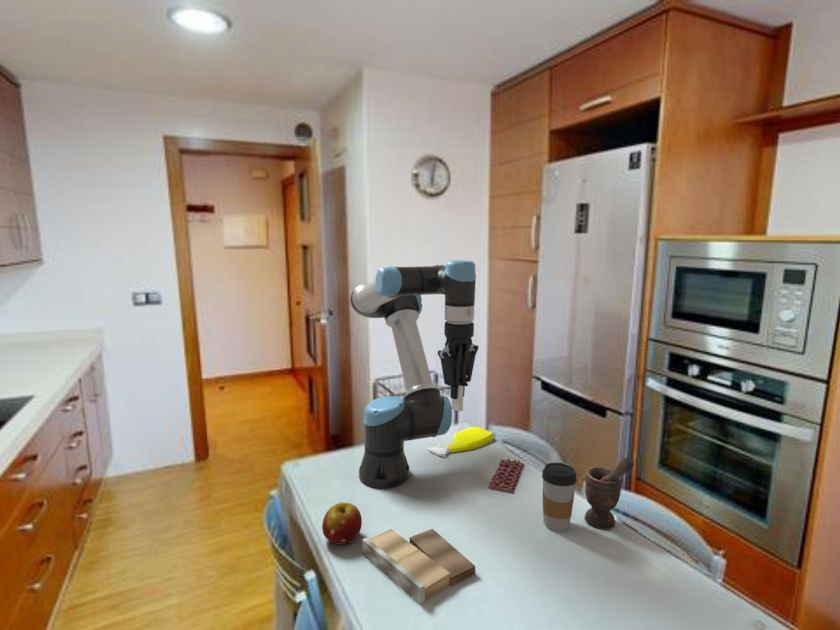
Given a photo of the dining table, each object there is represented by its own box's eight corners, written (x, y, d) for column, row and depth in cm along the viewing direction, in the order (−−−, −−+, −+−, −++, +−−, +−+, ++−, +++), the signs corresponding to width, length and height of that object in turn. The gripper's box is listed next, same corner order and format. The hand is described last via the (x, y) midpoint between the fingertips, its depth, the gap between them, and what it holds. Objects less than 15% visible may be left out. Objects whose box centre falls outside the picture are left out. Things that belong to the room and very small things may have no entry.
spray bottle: (496, 441, 173) (446, 463, 157) (473, 432, 181) (424, 451, 165) (496, 433, 173) (447, 454, 157) (473, 424, 181) (424, 443, 165)
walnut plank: (409, 547, 115) (409, 537, 114) (432, 537, 118) (432, 528, 118) (450, 588, 101) (451, 577, 101) (475, 576, 105) (475, 566, 105)
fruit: (343, 555, 111) (343, 523, 109) (314, 542, 115) (313, 511, 114) (369, 534, 119) (369, 503, 117) (341, 522, 123) (340, 492, 122)
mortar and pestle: (635, 525, 123) (641, 450, 120) (625, 541, 117) (631, 463, 114) (589, 508, 131) (594, 438, 127) (577, 523, 124) (582, 449, 121)
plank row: (362, 553, 111) (362, 539, 111) (391, 539, 117) (391, 525, 116) (420, 604, 96) (420, 587, 96) (449, 585, 102) (450, 569, 101)
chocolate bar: (524, 466, 155) (524, 460, 155) (513, 495, 138) (513, 489, 138) (502, 462, 158) (502, 456, 158) (488, 490, 141) (488, 484, 140)
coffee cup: (575, 536, 118) (579, 479, 116) (539, 532, 120) (543, 475, 117) (571, 517, 126) (575, 463, 124) (538, 513, 128) (541, 460, 126)
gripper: (451, 326, 118) (449, 419, 122) (487, 320, 126) (484, 407, 130) (430, 322, 124) (429, 411, 127) (466, 316, 132) (464, 400, 136)
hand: (457, 409), depth 129 cm, fingers closed
